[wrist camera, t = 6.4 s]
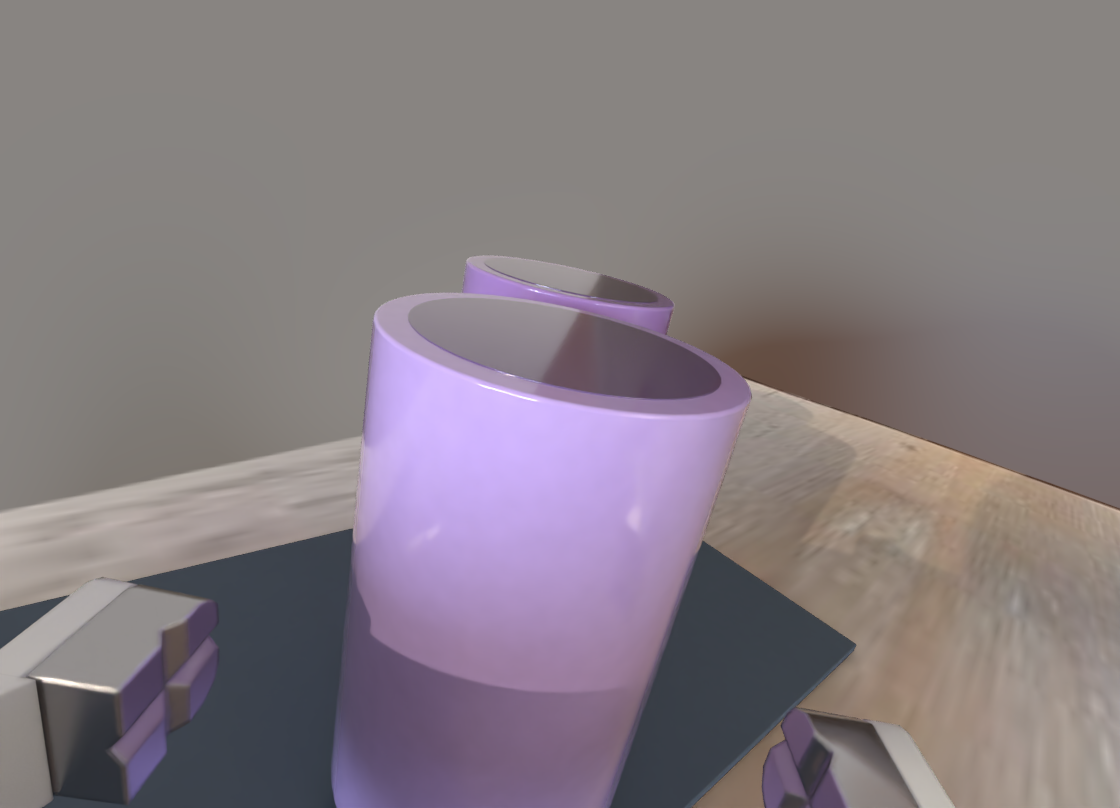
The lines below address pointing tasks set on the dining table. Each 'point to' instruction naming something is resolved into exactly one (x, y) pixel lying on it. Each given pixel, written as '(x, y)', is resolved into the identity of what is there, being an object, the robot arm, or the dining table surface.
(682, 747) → the placemat
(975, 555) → the dining table surface
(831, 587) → the dining table surface
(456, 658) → the lilac tumbler
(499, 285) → the heather tumbler
